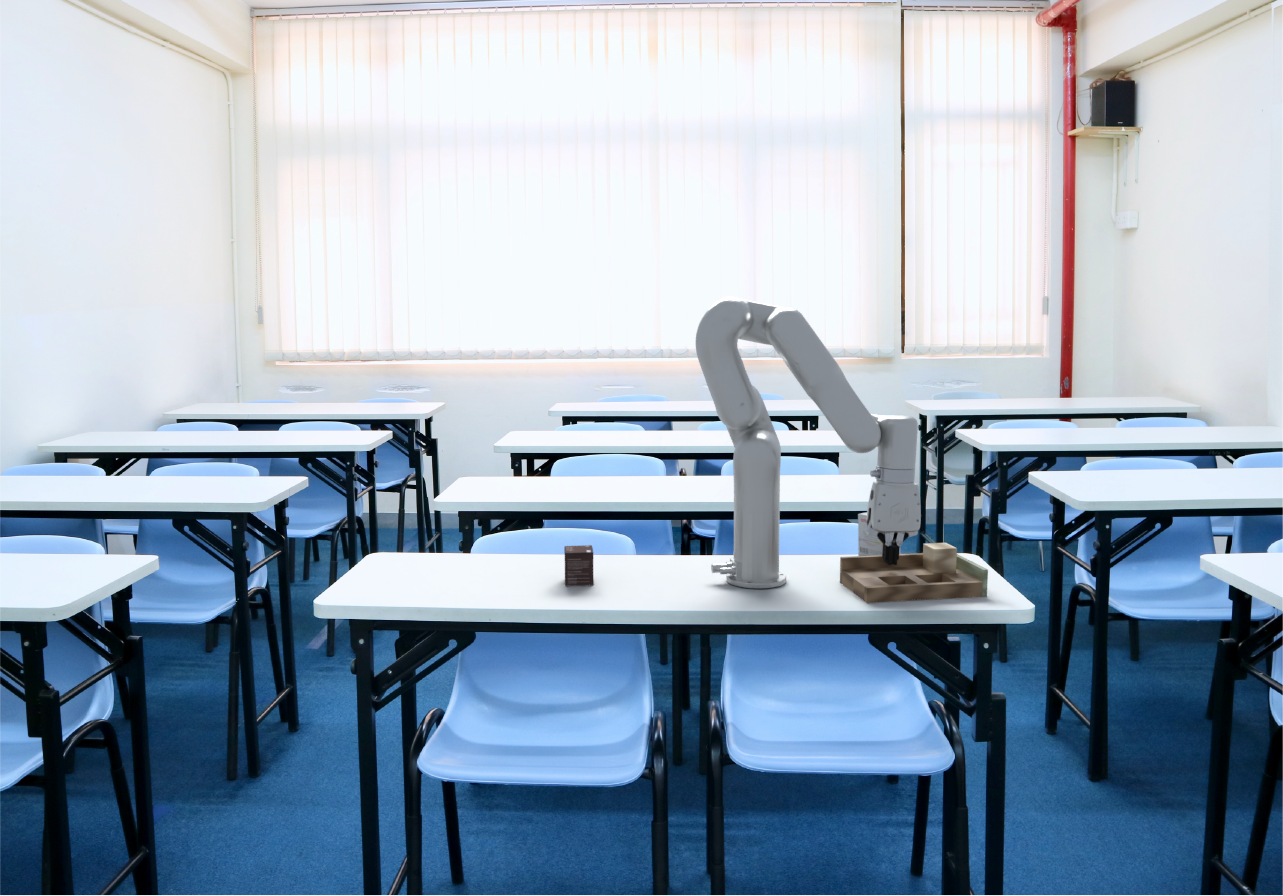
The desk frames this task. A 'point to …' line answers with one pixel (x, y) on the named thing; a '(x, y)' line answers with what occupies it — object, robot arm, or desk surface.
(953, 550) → the beech block
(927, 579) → the tray
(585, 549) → the box
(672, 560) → the desk surface
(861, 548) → the ink box
